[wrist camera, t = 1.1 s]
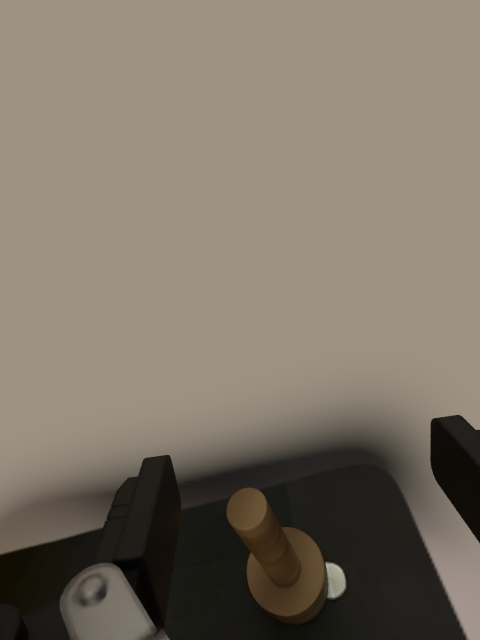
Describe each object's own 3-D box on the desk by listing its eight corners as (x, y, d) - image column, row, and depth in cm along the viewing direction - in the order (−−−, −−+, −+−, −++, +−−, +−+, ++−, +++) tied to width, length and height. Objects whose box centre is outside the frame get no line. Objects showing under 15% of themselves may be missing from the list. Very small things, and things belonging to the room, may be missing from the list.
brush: (336, 552, 29) (305, 469, 21) (324, 640, 25) (281, 577, 18) (268, 535, 31) (219, 455, 23) (249, 614, 27) (183, 548, 20)
